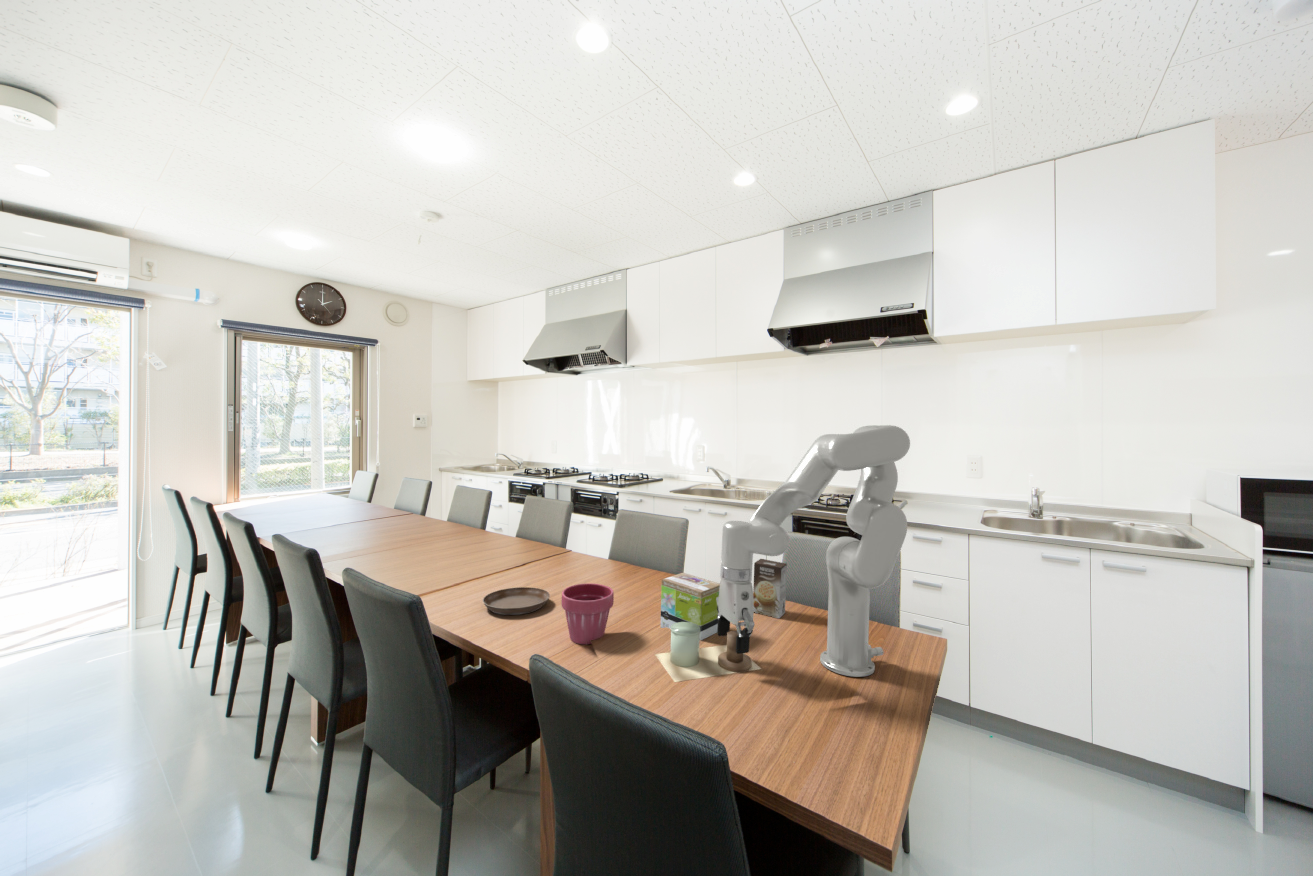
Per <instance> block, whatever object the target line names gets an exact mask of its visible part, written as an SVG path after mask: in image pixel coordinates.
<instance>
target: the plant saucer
mask: <svg viewBox="0 0 1313 876" xmlns="http://www.w3.org/2000/svg"><path fill="white" fill-rule="evenodd" d="M550 596H551V594H550V593H549V592H548V591H547V590H545V589H542V588H539V587H532V586H531V587H529V586H527V587H526V586H525V587H524V586H523V587H521V586H520V587H519V586H518V587H510V588H509V587H508V588H504V589H499V590H495V591H492V592H490V593H488V594H486V595H485V596H484V597H483V599H482V603H483V605H485V607H486V608H487V609H488V610H489V611H491V612H492V613H494V614H498V615H503V616H518V615H525V614H530V613H532V612H536V611H537V610H539V609H541V608H542V607H543V606H544V605H545V604H546V603H547V602H548V601H549V598H550Z"/></svg>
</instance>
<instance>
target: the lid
mask: <svg viewBox="0 0 1313 876" xmlns="http://www.w3.org/2000/svg"><path fill="white" fill-rule="evenodd" d="M736 636H738V632H737V630H730V631H729V632H727V636H726V645H727V652H723V653H721V654H720V655H719V656H718V664H719V666H720V667H721V668H723V669H725V670H728V671H732V672H739V673H744V671H746V672H748V671H747V670H749V669H750V668H751V665H752V661H753V660H752V657H750V655H748V654H747V653H744V654H743V653H741V654H737V653H736Z"/></svg>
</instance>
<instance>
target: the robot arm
mask: <svg viewBox="0 0 1313 876" xmlns="http://www.w3.org/2000/svg"><path fill="white" fill-rule="evenodd" d="M910 446H911V440H910V437H909V434H908V433H907V432H906V430H904V429H903V428H901V427H900V426H896V425H891V424H889V425H888V424H887V425H865V426H861V427H859V428H857V429H855V430H854V431H853V433H846V434H845V433H844V434H843V433H840V434H839V433H838V434H837V433H829V434H823V435H820V436H819V437H817V438H816V439H815V440H814V441H813V443H812V444H811V446H810V447H809V448H808V450H807V451H806V452H805V454H804V455H803V457H802V458H801V459H800V461H799V462H798V464H797V466H796V467H795V469H794V470H793V471H792V472H791V474H790V475H789V477H787V479H786V480H785V481H784V482H783V483H782V484H780V486H778V487H777V488H776V489H775V490H774V491H772V492H771V494H769V495H768V496H767V497H766V498H765V499H764V500H763V502H761V504H760V506H758V508H757V510H756V511H755V512H754V513H753V515H752V516H751V518H750V520H749V521H748V522H747V521H742V520H729V521H725V523H724V524H723V526H722V533H721V534H722V538H721V552H720V553H721V555H720V556H721V557H720V573H719V574H720V576H719V578H720V582H719V584H720V588H719V597H717V598H716V601H717V611H718V614H717V618H718V619H720V620H718V627H717V633H716V635H717V636H718V637H727V632H729V631H731V624H732V625H734V626H735V627H736V631H737V632H738V636H736V653H737V654H741V653H744V654H748V653H749V652H750V637H751V636H752V634H753V631H754V627H755V620H754V614H755V613H754V603H753V583H752V582H753V561H754V560H753V558H754V554H756V555H761V556H768V557H778V556H781V555H783V554H785V553H786V551H788V549H789V547H790V544H791V543H790V536H789V534H788V533H787V531H786V530H785V529H784V528H783V527H781V525H782V524H783V523H784V521H785V520H786V519H787V518H788V517H789V516H790V515H791V514H793V512H795V511H796V510H799V509H801V508H803V507H807V506H810V505H811V504H813V503H815V502H817V501H818V499H820V497H821V496H822V494H823V492H824V491H825V489H826V488H827V486H828V485H829V484H830V482H831V481H832V480H833V478H834V477H835V475H836V474H837V472H838V471H843V472H851V471H857V470H860V476H859V481H858V483H857V485H856V486H857V487H856V489H855V491H854V494H853V497H852V499H851V501H850V503H849V506H848V510H847V512H846V515H845V517H846V518H845V521H846V524H847V526H848V528H849V529H850V530H852V531H853V532H854V533H857V534H859V535H861V538H860V540H859V539H858V538H855V537H852V536H840V537H837V538H835V539H834V540H832V541H831V542H830V543H829V545H828V547H827V549H826V554H825V563H826V568H827V578H828V579H827V580H828V599H827V600H828V601H827V635H826V638H827V639H826V650H823V652H821V653H820V656H819V658H820V660H819V661H820V663H821V664H822V666H823V667H824V668H825V669H828V670H829V671H832V672H834V673H836V674H839V675H842V676H847V677H852V678H853V677H855V678H858V677H859V678H862V677H868V676H871V675H873V674H874V673H875V670H876V669H875V667H876V666H875V663H874V662H873V660H872V659H873V658H874V657H878V656H883V655H884V649H883V648H882V647H881V646H876V647H872V645H870V644H869V637H870V636H869V635H870V633H869V630H870V629H869V628H870V607H871V606H870V604H871V601H870V600H871V598H870V597H871V595H870V594H871V593H870V589H876V588H877V589H878V588H879V587H882V586H883V585H884V584H885V583H886V582H887V581H888V579H889V578H890V576H891V574H892V573H893V570H894V568H895V565H896V562H897V561H898V558H899V555H900V552H901V550H902V548H903V544H904V542H905V538H906V536H907V532H908V521H907V516H906V514H905V513H904V512H905V511H903V510H902V508H900V507H899V506H897V505H896V504H894V503H892V502H893V499H894V496H895V493H896V490H897V487H898V481H899V480H898V479H899V477H898V469H897V466H896V463H895V462H897V461H900V460H902V458H904V457H905V456H906V455H907V453H908V452H909V450H910ZM742 627H744V628H743V629H742Z"/></svg>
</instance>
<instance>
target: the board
mask: <svg viewBox="0 0 1313 876" xmlns="http://www.w3.org/2000/svg"><path fill="white" fill-rule="evenodd" d="M723 652H727V644H723V645H715V646H707V647H702V648H701V647H699V663H698V664H697V665H695V666H692V667H680V666H676V665H674V664H673V663H672V662H671V661H670V653H671V651H669V652H662V653H655V654H654V655H655V657H656V658H657V659H658V661H659V662H660V664H661V665H662V666H663V668H664V670H665V671H666V672H667V674H668V675H669V676H670V678H671V680H672V681H673V682H674V683H677V682H678V683H680V682H685V681H686V682H687V681H692V680H693V681H694V680H698V679H699V680H700V679H705V678H711V677H718V676H724V675H730V674H731V675H733V674H738V673H740V672H732V671H728V670H725V669H723V668H721V667H720V666H719V664H718V656H719V655H720V654H721V653H723ZM743 654H745V653H743ZM757 670H762V668H761V667H760V666H759V665H758V664H757V663H756V662H755V661H753V660H752V665H751V668H750V669H749V670H747V671H744V672H750V671H757ZM744 672H743V673H744Z"/></svg>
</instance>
